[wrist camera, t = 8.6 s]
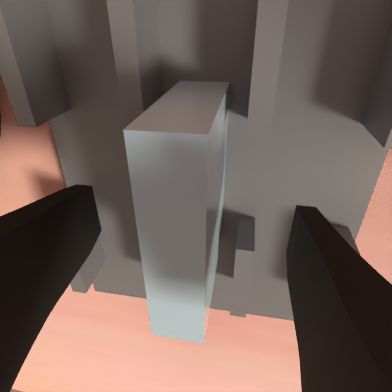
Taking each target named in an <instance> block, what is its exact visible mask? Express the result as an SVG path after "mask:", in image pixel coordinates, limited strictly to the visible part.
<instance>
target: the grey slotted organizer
mask: <svg viewBox="0 0 392 392" xmlns="http://www.w3.org/2000/svg"><path fill="white" fill-rule="evenodd" d="M0 74H1V77H2V80H3V83H4V86H5V89H6V92H7V95H8V98H9V101H10V104H11V107H12V110H13V113H14V116H15V119H16V122H17V125H18V126H26V127H37V126H39V125H41V124H43V123H45V122H47V121H49V124H50V128H51V132H52V135H53V139H54V142H55V146H56V150H57V153H58V157H59V161H60V164H61V168H62V172H63V175H64V179H65V183H66V186H67V187H70V186H73V185H76V184H79V185H89V186H92V188H93V193H94V197H95V202H96V206H97V211H98V216H99V220H100V225H101V229H102V231H101V233H100V235H99V237H98V239H97V241H96V243H95V245H94V247H93V249H92V251H91V253H90V255H89V256H88V258H87V259H86V261H85V262H84V264H83V265H82V267H81V268H80V270H79V271H78V273H77V274H76V275H75V277H74V278H73V280H72V281H71V283H70V284H71V287H72V290H73V291H75V292H82V293H86V292H87V291H88V289H89V287H90V286H91V284H92V283H93V285H94V288H95V291H99V292H106V293H113V294H119V295H126V296H133V297H139V298H146V299H147V297H146V290H145V283H144V276H143V268H142V261H141V254H140V247H139V240H138V233H137V225H136V218H135V211H134V204H133V197H132V190H131V182H130V175H129V168H128V161H127V154H126V147H125V139H124V132H123V130H124V129H125V128H126V127H127V126H128V125H129V124H130V123H132V122H133V121H134V120H135V119H136V118H137V117H139V116H140V115H141V114H142V113H143V112H144V111H146V110H147V109H148V108H149V107H150V106H151V105H153V104H154V103H155V102H156V101H157V100H158V99H160V98H161V97H162V96H163V95H164V94H165V93H166V92H168V91H169V90H170V89H171V88H172V87H173V86H175V85H176V84H177V83H178V82H179V81H207V82H230V86H229V105H228V123H227V142H226V160H225V179H224V197H223V216H222V234H221V243H220V249H219V256H218V262H217V268H216V274H215V280H214V286H213V292H212V298H211V304H210V308H212V309H219V310H226V311H230V315H233V316H239V317H246V314H252V315H259V316H266V317H272V318H279V319H286V320H292V321H294V318H293V312H292V306H291V300H290V294H289V288H288V281H287V263H286V251H287V246H288V241H289V237H290V232H291V227H292V222H293V218H294V213H295V208H296V205H301V206H312V207H316V208H317V209H318V210H319V211H320V212H321V213H322V214H323V216H324V217H325V218H326V219H327V220H328V221H329V222H330V224H331V225H332V226H333V227H334V228H335V229H336V230H337V232H338V233H339V234H340V235H341V236H342V237H343V238H344V239H345V240H346V241H347V242H348V244H349V245H350V246H351V247H352V248H353V249H354V250H355V251H356V252H357V253H358V254H359V255H360V253H359V251H358V248H357V246H356V244H355V239H356V237H357V234H358V231H359V228H360V226H361V223H362V220H363V218H364V215H365V212H366V209H367V207H368V204H369V201H370V199H371V196H372V193H373V190H374V188H375V185H376V182H377V180H378V177H379V174H380V171H381V169H382V166H383V163H384V161H385V158H386V155H387V152H388V150H389V149H392V0H0Z"/></svg>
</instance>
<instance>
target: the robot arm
mask: <svg viewBox="0 0 392 392" xmlns="http://www.w3.org/2000/svg"><path fill="white" fill-rule="evenodd" d="M101 231H102V229H101V225H100V220H99V216H98V211H97V206H96V202H95V197H94V193H93V188H92V186H89V185H79V184H76V185H73V186H70V187H67V188H65V189H62V190H60V191H58V192H55V193H53V194H51V195H48V196H46V197H44V198H42V199H39V200H37V201H35V202H33V203H31V204H28V205H26V206H24V207H22V208H19V209H17V210H15V211H12V212H10V213H7V214H5V215H3V216H0V392H10V390H11V388H12V386H13V384H14V382H15V379H16V377H17V375H18V373H19V371H20V369H21V367H22V365H23V363H24V361H25V359H26V357H27V355H28V353H29V351H30V349H31V347H32V345H33V343H34V341H35V340H36V338H37V336H38V334H39V332H40V330H41V329H42V327H43V325H44V323H45V321H46V319H47V318H48V316H49V314H50V313H51V311H52V309H53V308H54V306H55V305H56V303H57V302H58V300H59V299H60V297H61V296H62V294H63V293H64V291H65V290H66V288H67V287H68V286H69V284H70V283H71V281H72V280H73V278H74V277H75V275H76V274H77V273H78V271H79V270H80V268H81V267H82V265H83V264H84V262H85V261H86V259H87V258H88V256H89V255H90V253H91V251H92V249H93V247H94V245H95V243H96V241H97V239H98V237H99V235H100V233H101ZM286 263H287V281H288V288H289V294H290V300H291V306H292V312H293V318H294V324H295V330H296V336H297V342H298V349H299V357H300V371H301V386H302V392H392V284H390V283H389V282H388V281H387V280H386V279H385V278H384V277H382V276H381V275H380V274H379V273H378V272H377V271H376V270H375V269H374V268H373V267H372V266H371V265H370V264H368V263H367V262H366V261H365V260H364V259H363V258H362V257H361V256H360V255H359V254H358V253H357V252H356V251H355V250H354V249H353V248H352V247H351V246H350V245H349V244H348V242H347V241H346V240H345V239H344V238H343V237H342V236H341V235H340V234H339V233H338V232H337V230H336V229H335V228H334V227H333V226H332V225H331V224H330V222H329V221H328V220H327V219H326V218H325V217H324V216H323V214H322V213H321V212H320V211H319V210H318V209H317V208H316V207H312V206H301V205H296V208H295V213H294V218H293V222H292V227H291V232H290V237H289V241H288V246H287V251H286Z"/></svg>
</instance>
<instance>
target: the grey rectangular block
mask: <svg viewBox="0 0 392 392" xmlns="http://www.w3.org/2000/svg"><path fill="white" fill-rule="evenodd" d="M229 86H230V82H207V81H179V82H178V83H177V84H176V85H175V86H173V87H172V88H171V89H170V90H169V91H168V92H166V93H165V94H164V95H163V96H162V97H161V98H160V99H158V100H157V101H156V102H155V103H154V104H153V105H151V106H150V107H149V108H148V109H147V110H146V111H144V112H143V113H142V114H141V115H140V116H139V117H137V118H136V119H135V120H134V121H133V122H132V123H130V124H129V125H128V126H127V127H126V128H125V129H124V130H123V132H124V139H125V147H126V154H127V161H128V168H129V175H130V182H131V190H132V197H133V204H134V211H135V218H136V225H137V233H138V240H139V247H140V254H141V261H142V268H143V276H144V283H145V290H146V297H147V304H148V311H149V318H150V326H151V333H152V335H156V336H162V337H168V338H174V339H180V340H186V341H192V342H198V343H203V344H204V341H205V335H206V329H207V323H208V316H209V310H210V304H211V298H212V292H213V286H214V280H215V274H216V268H217V262H218V256H219V249H220V243H221V234H222V216H223V197H224V179H225V160H226V142H227V123H228V105H229Z"/></svg>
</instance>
